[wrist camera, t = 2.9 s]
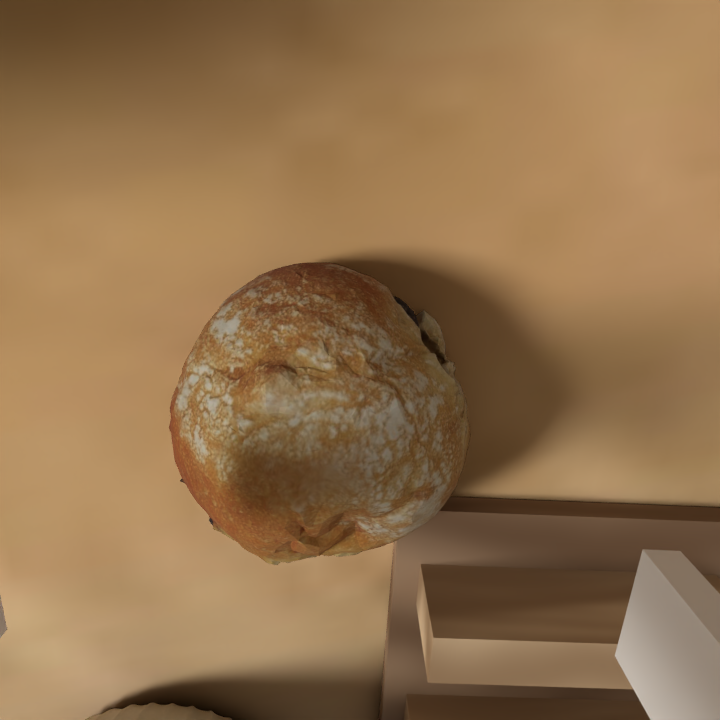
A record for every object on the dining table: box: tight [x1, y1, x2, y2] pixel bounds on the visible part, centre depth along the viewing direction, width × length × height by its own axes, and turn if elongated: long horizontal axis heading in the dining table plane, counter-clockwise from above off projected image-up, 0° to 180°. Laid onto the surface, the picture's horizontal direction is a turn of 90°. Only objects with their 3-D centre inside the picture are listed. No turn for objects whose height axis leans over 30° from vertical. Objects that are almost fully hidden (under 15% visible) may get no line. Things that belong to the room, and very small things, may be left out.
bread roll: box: [169, 263, 471, 565], centre depth 17 cm, size 10×10×8 cm
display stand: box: [379, 497, 720, 720], centre depth 20 cm, size 14×14×4 cm
